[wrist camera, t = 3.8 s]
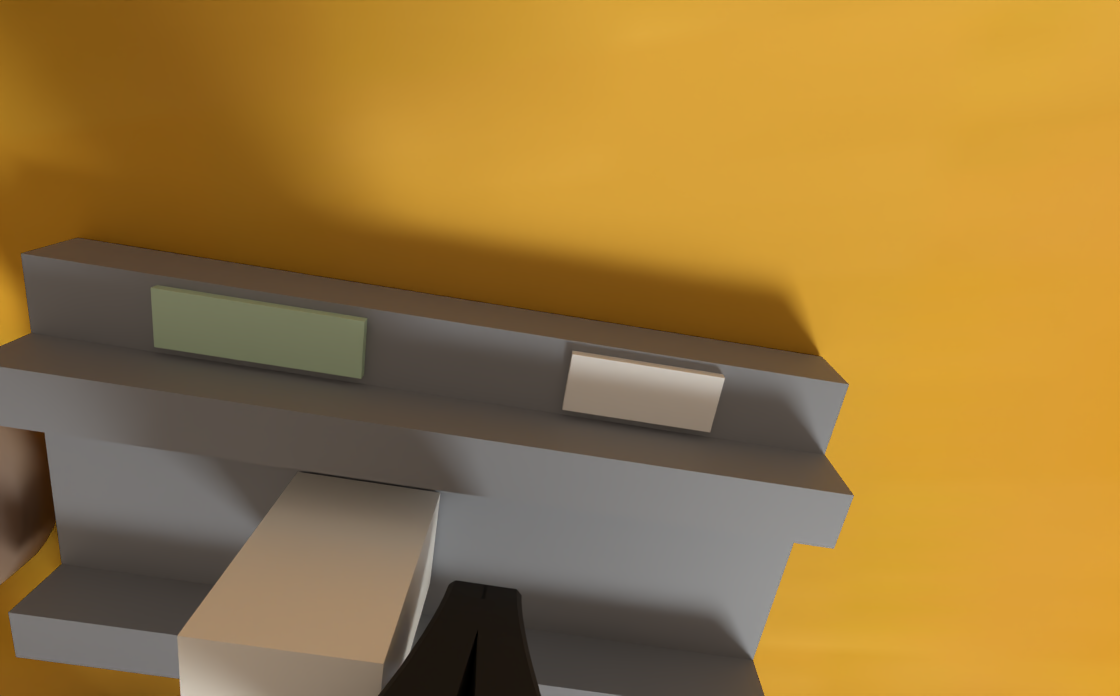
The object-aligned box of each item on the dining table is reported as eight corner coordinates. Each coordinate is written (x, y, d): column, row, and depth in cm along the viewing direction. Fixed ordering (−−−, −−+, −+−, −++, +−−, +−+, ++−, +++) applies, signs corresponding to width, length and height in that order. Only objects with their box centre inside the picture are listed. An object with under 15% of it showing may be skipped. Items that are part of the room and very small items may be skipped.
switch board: (711, 693, 18) (737, 804, 15) (114, 612, 17) (26, 711, 14) (821, 356, 14) (882, 419, 12) (77, 237, 14) (-51, 273, 11)
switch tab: (430, 583, 15) (373, 777, 10) (296, 564, 15) (184, 752, 10) (440, 492, 14) (383, 663, 10) (297, 471, 14) (177, 635, 10)
